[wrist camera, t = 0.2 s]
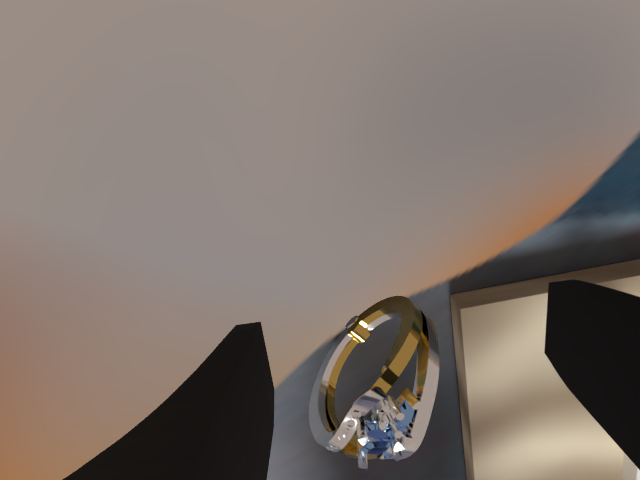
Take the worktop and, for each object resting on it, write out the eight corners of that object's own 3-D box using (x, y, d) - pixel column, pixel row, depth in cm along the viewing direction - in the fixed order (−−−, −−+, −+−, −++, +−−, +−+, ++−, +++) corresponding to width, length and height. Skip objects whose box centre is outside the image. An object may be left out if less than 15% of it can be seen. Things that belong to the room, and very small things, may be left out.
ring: (383, 258, 21) (431, 354, 13) (426, 297, 21) (495, 409, 14) (288, 349, 22) (283, 483, 14) (332, 382, 23) (349, 525, 15)
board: (722, 458, 26) (827, 548, 21) (469, 503, 26) (510, 603, 21) (763, 235, 21) (914, 282, 16) (449, 294, 21) (497, 359, 16)
